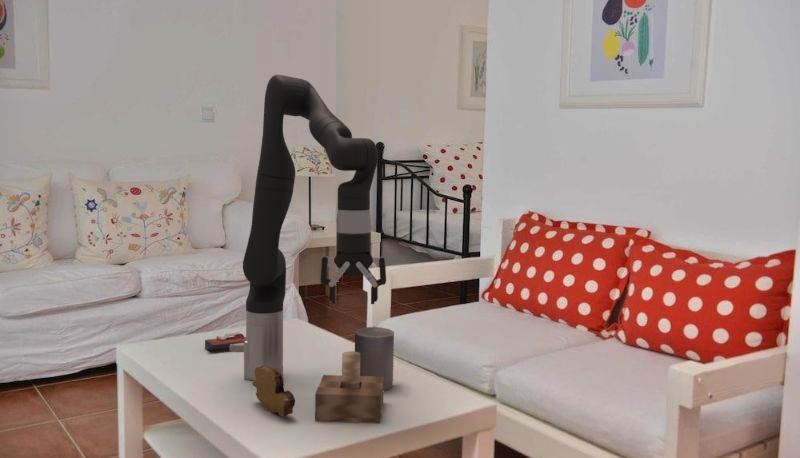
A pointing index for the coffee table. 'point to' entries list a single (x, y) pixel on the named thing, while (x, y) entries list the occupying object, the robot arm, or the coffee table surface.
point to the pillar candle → (376, 353)
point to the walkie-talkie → (226, 343)
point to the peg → (351, 369)
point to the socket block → (349, 400)
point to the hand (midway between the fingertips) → (353, 303)
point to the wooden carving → (273, 391)
